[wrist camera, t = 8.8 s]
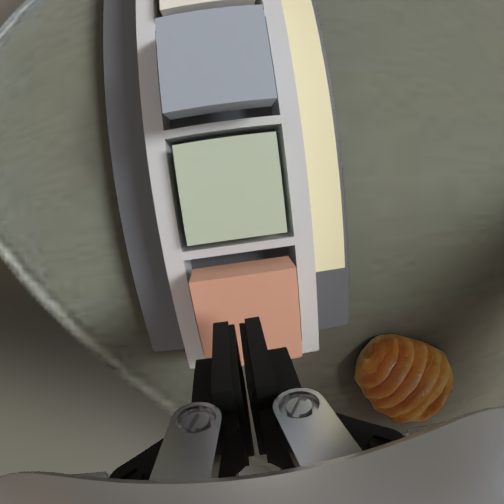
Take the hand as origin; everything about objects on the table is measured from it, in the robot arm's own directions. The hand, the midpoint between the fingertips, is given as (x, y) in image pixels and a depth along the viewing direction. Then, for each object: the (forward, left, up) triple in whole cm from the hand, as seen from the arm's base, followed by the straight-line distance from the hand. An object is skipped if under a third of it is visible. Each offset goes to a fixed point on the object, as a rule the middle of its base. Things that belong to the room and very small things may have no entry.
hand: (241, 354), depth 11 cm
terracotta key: (0, 0, -4) cm, 4 cm away
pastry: (-12, +10, -8) cm, 18 cm away
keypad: (0, -8, -8) cm, 12 cm away
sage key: (0, -6, -5) cm, 8 cm away
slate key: (0, -11, -4) cm, 12 cm away
